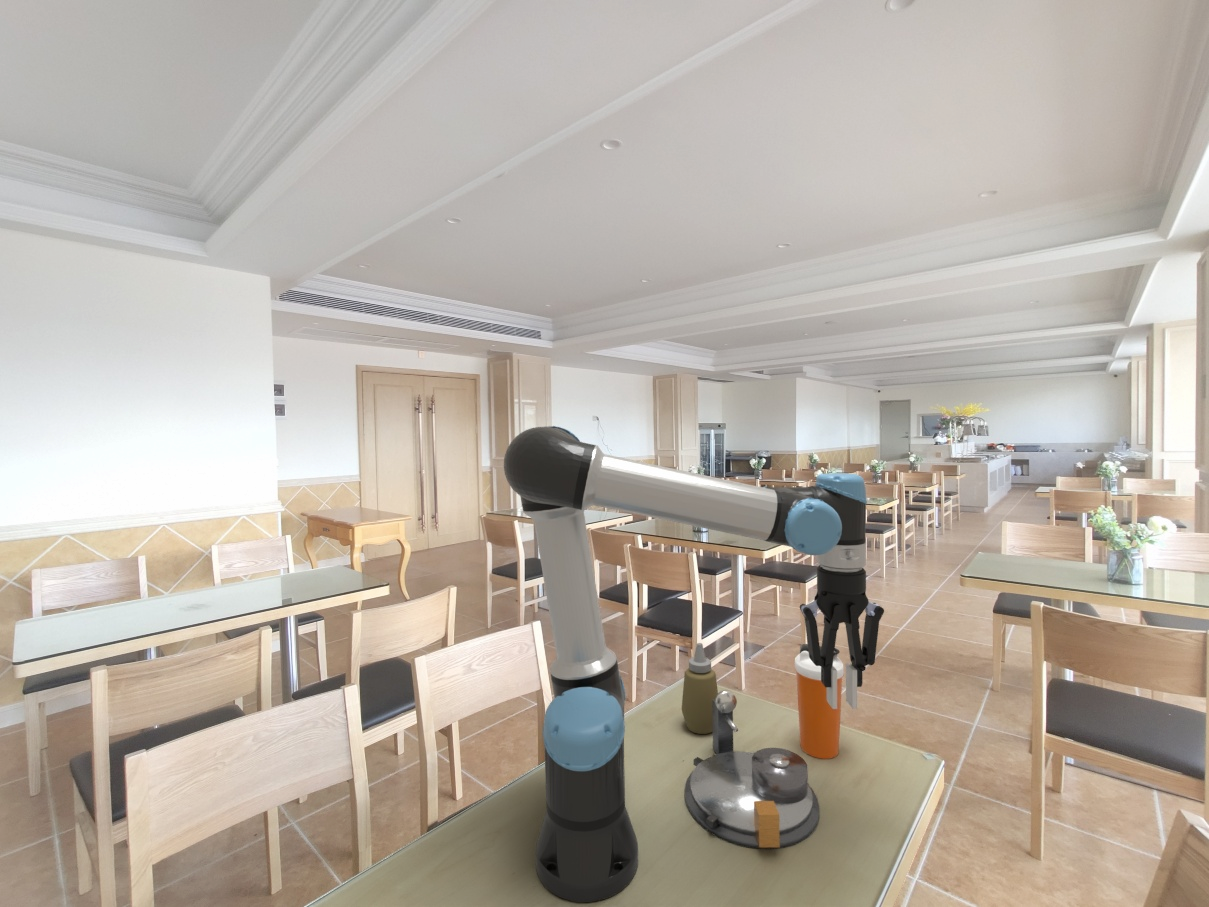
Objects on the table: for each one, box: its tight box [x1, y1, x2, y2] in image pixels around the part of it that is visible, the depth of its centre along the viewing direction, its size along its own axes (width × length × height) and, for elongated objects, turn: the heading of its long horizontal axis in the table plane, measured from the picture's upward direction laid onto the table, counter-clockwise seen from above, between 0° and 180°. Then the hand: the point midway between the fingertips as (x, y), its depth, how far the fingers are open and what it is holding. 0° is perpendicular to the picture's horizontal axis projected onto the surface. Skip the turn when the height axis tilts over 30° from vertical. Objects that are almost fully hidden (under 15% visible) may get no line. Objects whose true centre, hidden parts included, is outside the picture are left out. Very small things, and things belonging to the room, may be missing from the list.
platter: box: [690, 751, 813, 847], centre depth 93 cm, size 20×22×5 cm
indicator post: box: [712, 689, 739, 755], centre depth 106 cm, size 4×8×13 cm, turn 10°
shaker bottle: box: [794, 643, 845, 760], centre depth 108 cm, size 9×9×20 cm
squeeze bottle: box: [681, 642, 719, 735], centre depth 117 cm, size 8×8×18 cm
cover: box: [752, 747, 809, 804], centre depth 94 cm, size 9×9×5 cm
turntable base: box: [684, 769, 820, 850], centre depth 94 cm, size 22×22×1 cm
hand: (841, 704), depth 93 cm, fingers open, 3 cm apart
